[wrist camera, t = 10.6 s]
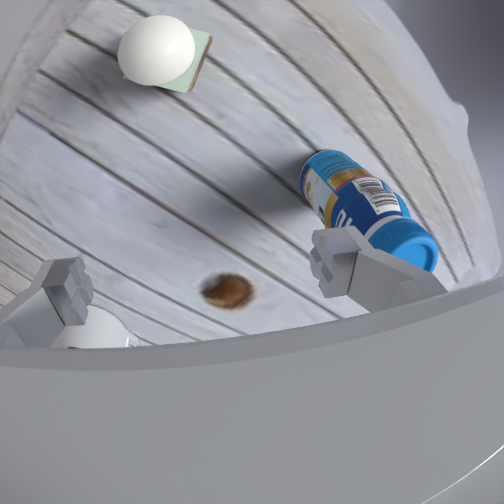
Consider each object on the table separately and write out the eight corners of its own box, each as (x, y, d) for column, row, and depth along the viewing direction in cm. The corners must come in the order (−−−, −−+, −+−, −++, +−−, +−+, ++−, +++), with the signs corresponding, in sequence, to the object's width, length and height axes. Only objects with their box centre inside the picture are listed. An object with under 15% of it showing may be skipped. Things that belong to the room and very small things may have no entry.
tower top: (188, 89, 25) (185, 93, 21) (136, 76, 23) (122, 78, 19) (209, 39, 22) (209, 33, 18) (155, 26, 20) (145, 18, 16)
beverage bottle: (365, 170, 38) (459, 254, 22) (329, 215, 41) (398, 317, 25) (323, 134, 34) (420, 207, 18) (284, 185, 38) (345, 290, 22)
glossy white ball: (176, 91, 20) (169, 97, 16) (124, 69, 18) (104, 70, 14) (208, 40, 18) (208, 33, 14) (154, 17, 16) (141, 5, 12)
